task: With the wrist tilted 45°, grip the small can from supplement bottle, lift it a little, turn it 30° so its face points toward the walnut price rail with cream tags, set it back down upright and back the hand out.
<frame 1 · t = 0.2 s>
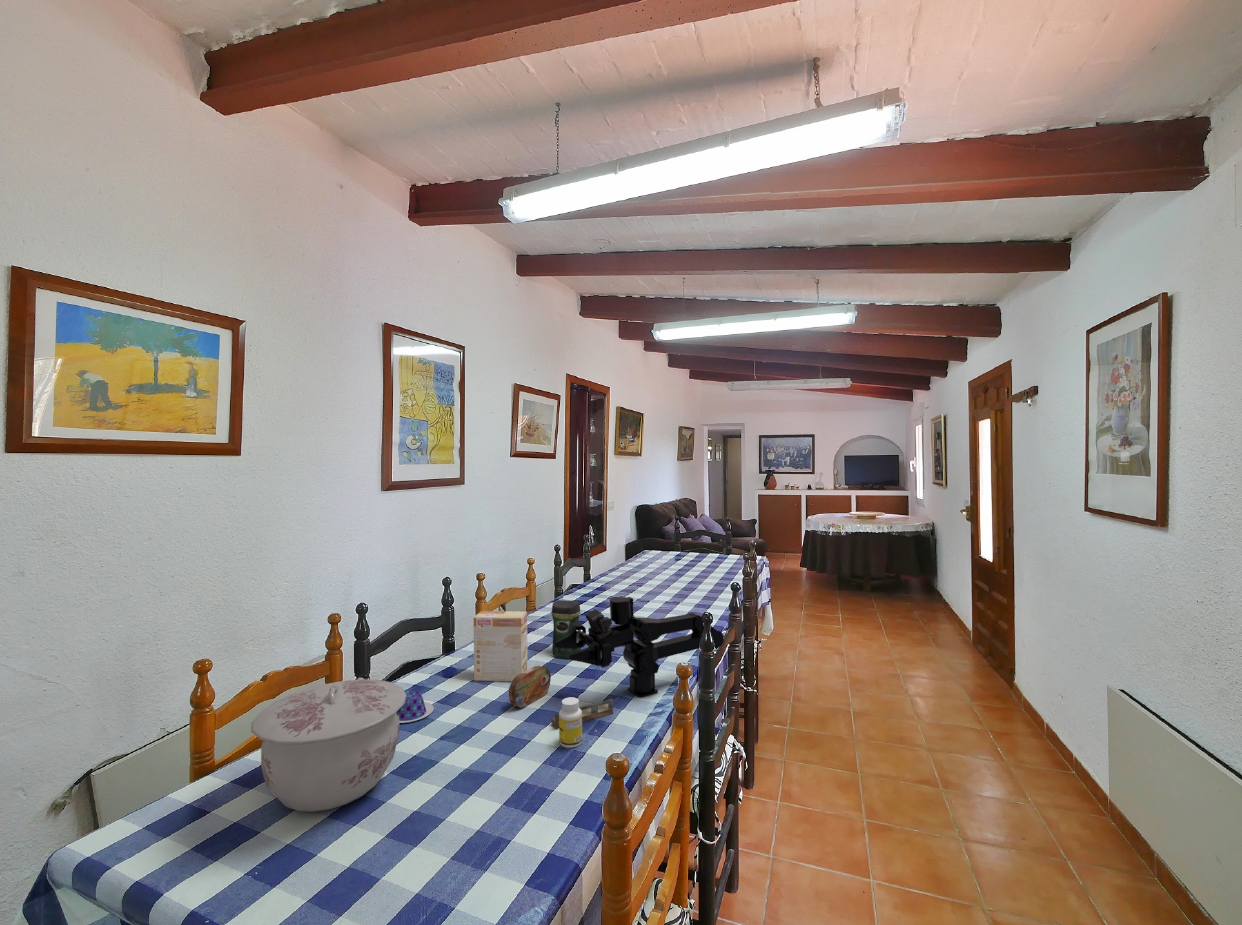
hand: (561, 651, 139), 16 cm above the table, tool horizontal, fingers open, 9 cm apart
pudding: (409, 715, 140), on the table
coffee jar: (566, 655, 182), on the table
coffeecake box: (501, 677, 163), on the table
tin: (530, 701, 147), on the table
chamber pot: (335, 789, 107), on the table
supplement bottle: (570, 743, 124), on the table
price rail: (582, 718, 136), on the table
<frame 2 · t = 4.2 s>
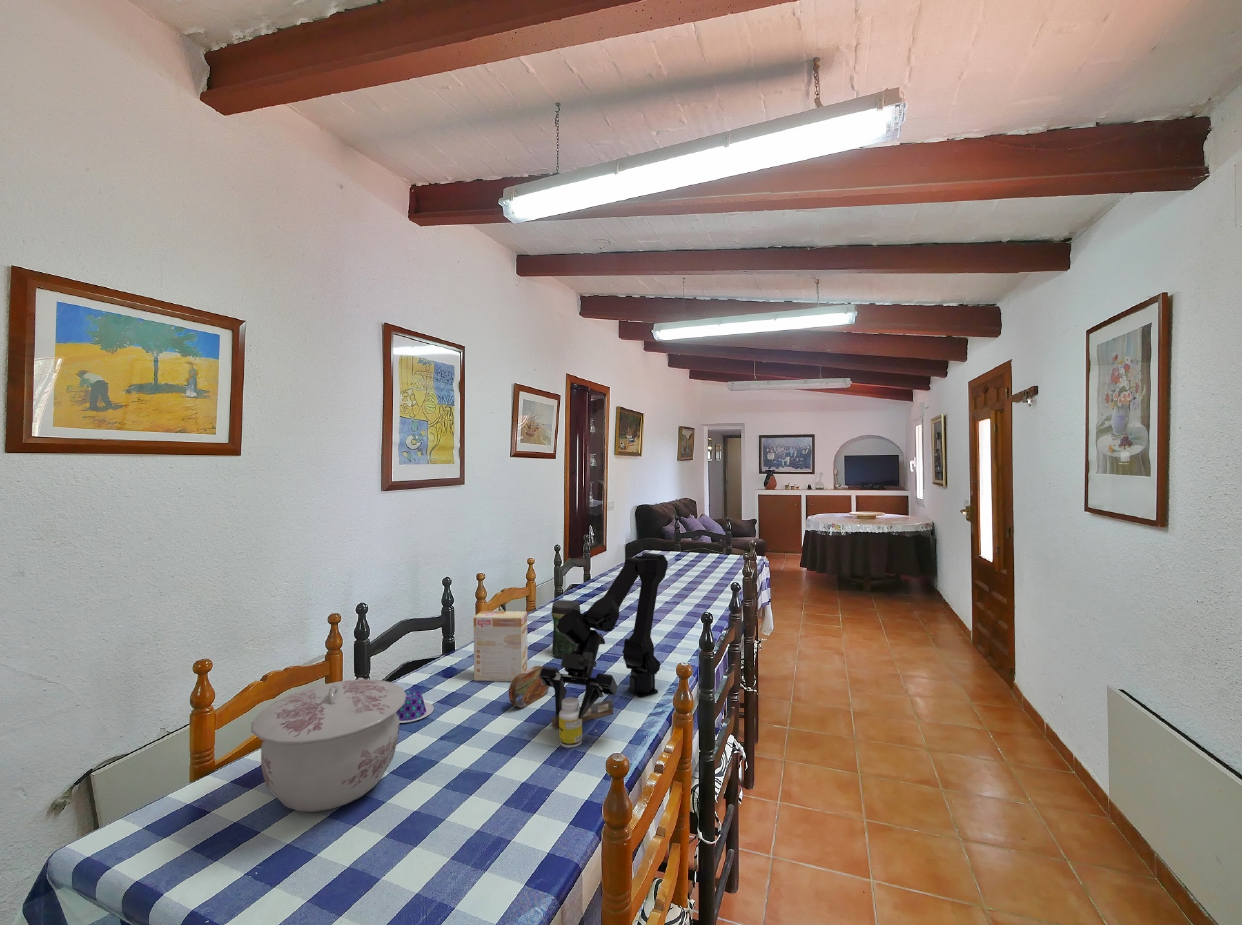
hand: (568, 716, 123), 7 cm above the table, tool tilted 45°, fingers closed on supplement bottle, 5 cm apart
supplement bottle: (570, 743, 124), on the table, touching gripper
everything else where it was.
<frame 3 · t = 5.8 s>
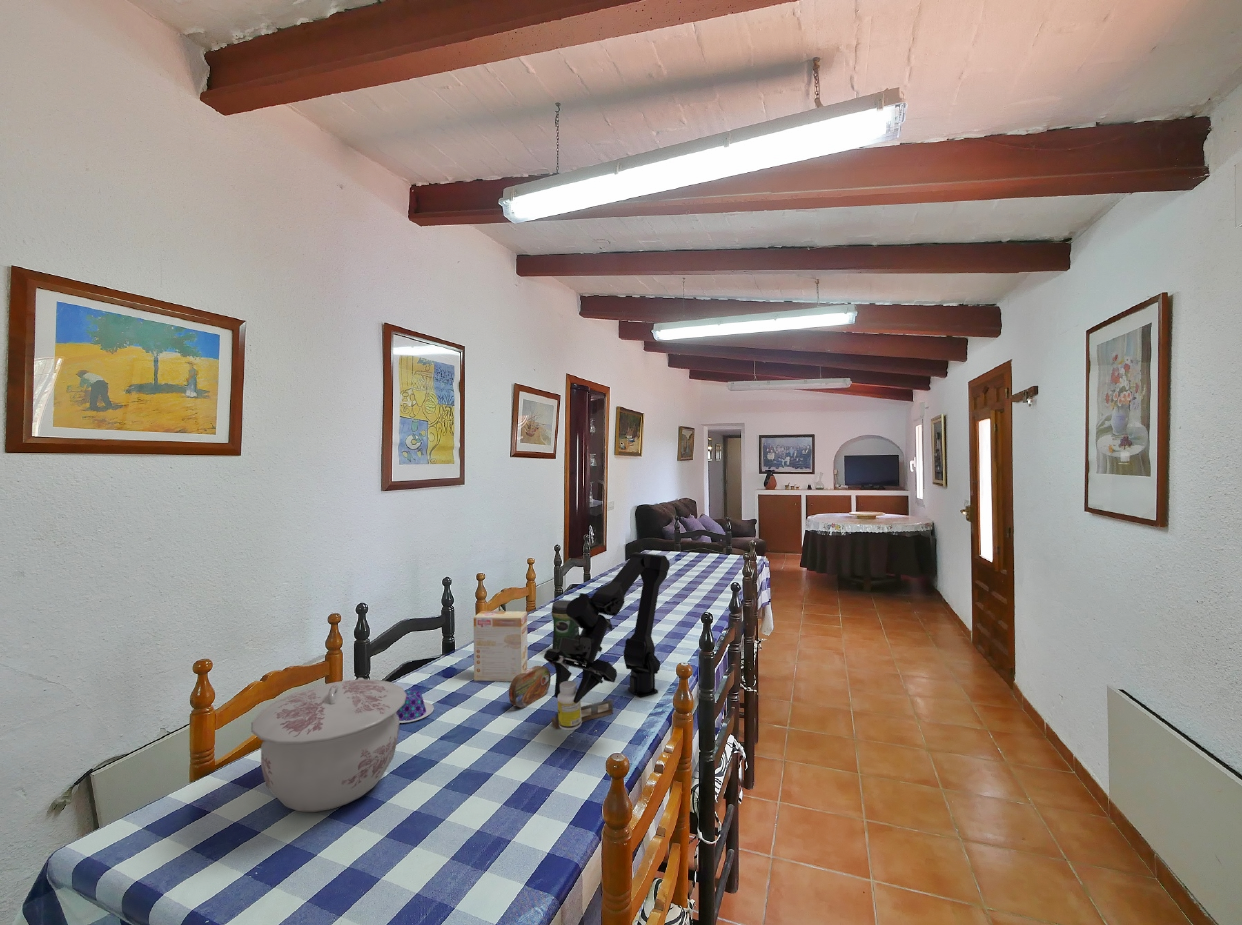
hand: (565, 699, 124), 10 cm above the table, tool tilted 40°, fingers closed on supplement bottle, 5 cm apart
supplement bottle: (570, 725, 125), point 4 cm above the table, touching gripper
everything else where it was.
when the fingers open (7 cm above the table, at t = 7.4 s): supplement bottle stays where it is, on the table.
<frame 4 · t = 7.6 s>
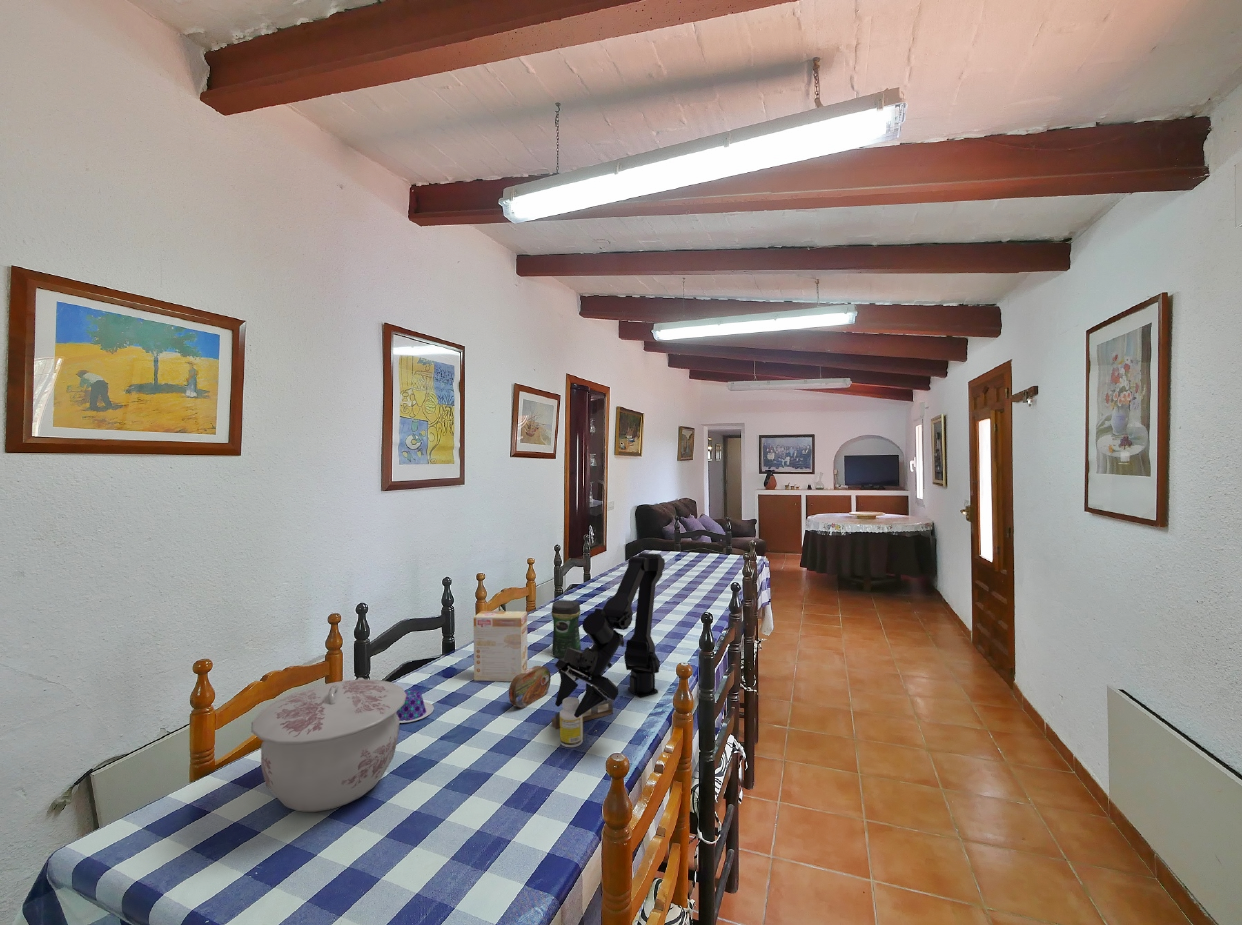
hand: (565, 711, 124), 8 cm above the table, tool tilted 45°, fingers open, 7 cm apart
supplement bottle: (571, 742, 125), on the table
everything else where it was.
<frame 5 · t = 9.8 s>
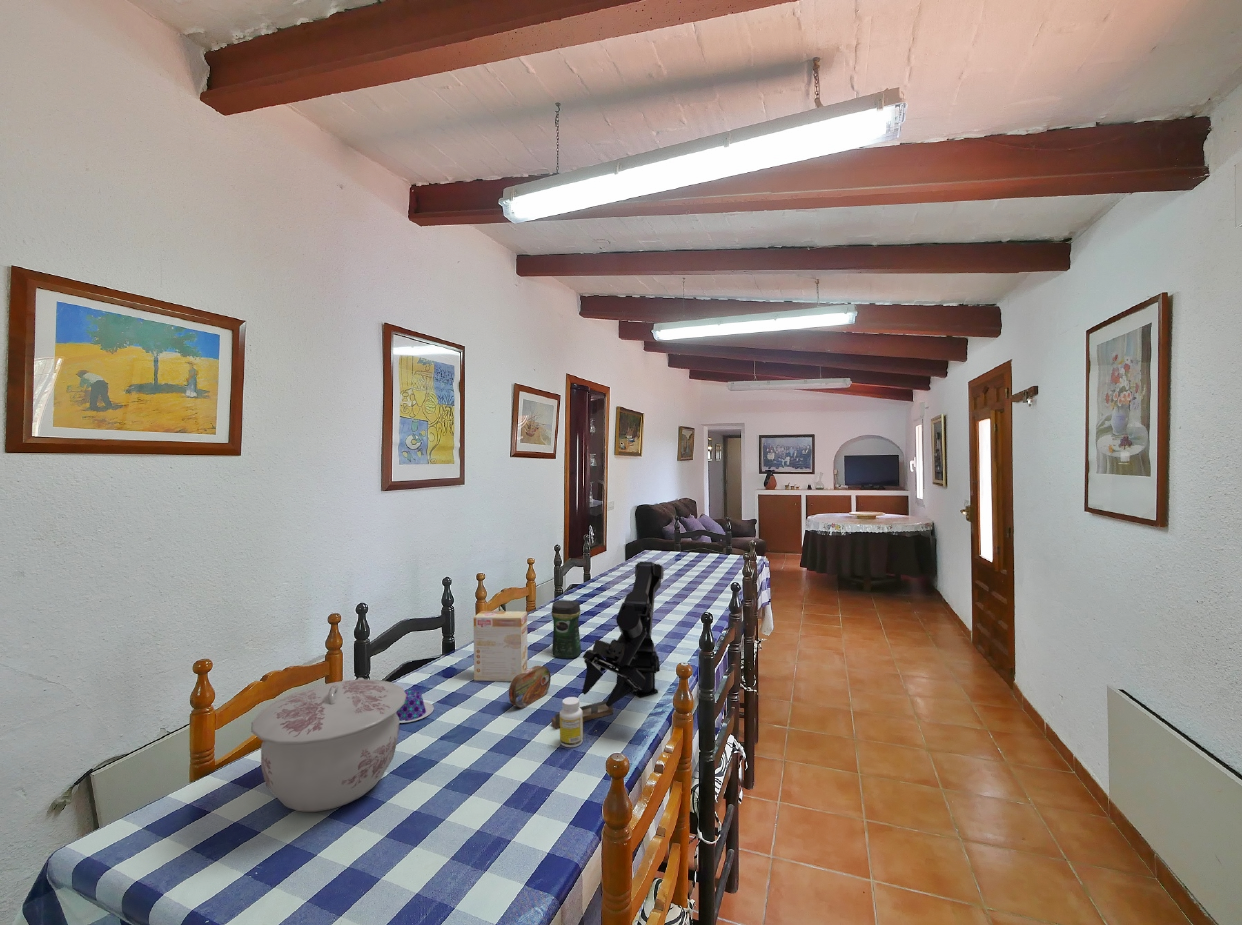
hand: (594, 699, 129), 8 cm above the table, tool tilted 45°, fingers open, 9 cm apart
nothing on the table moved.
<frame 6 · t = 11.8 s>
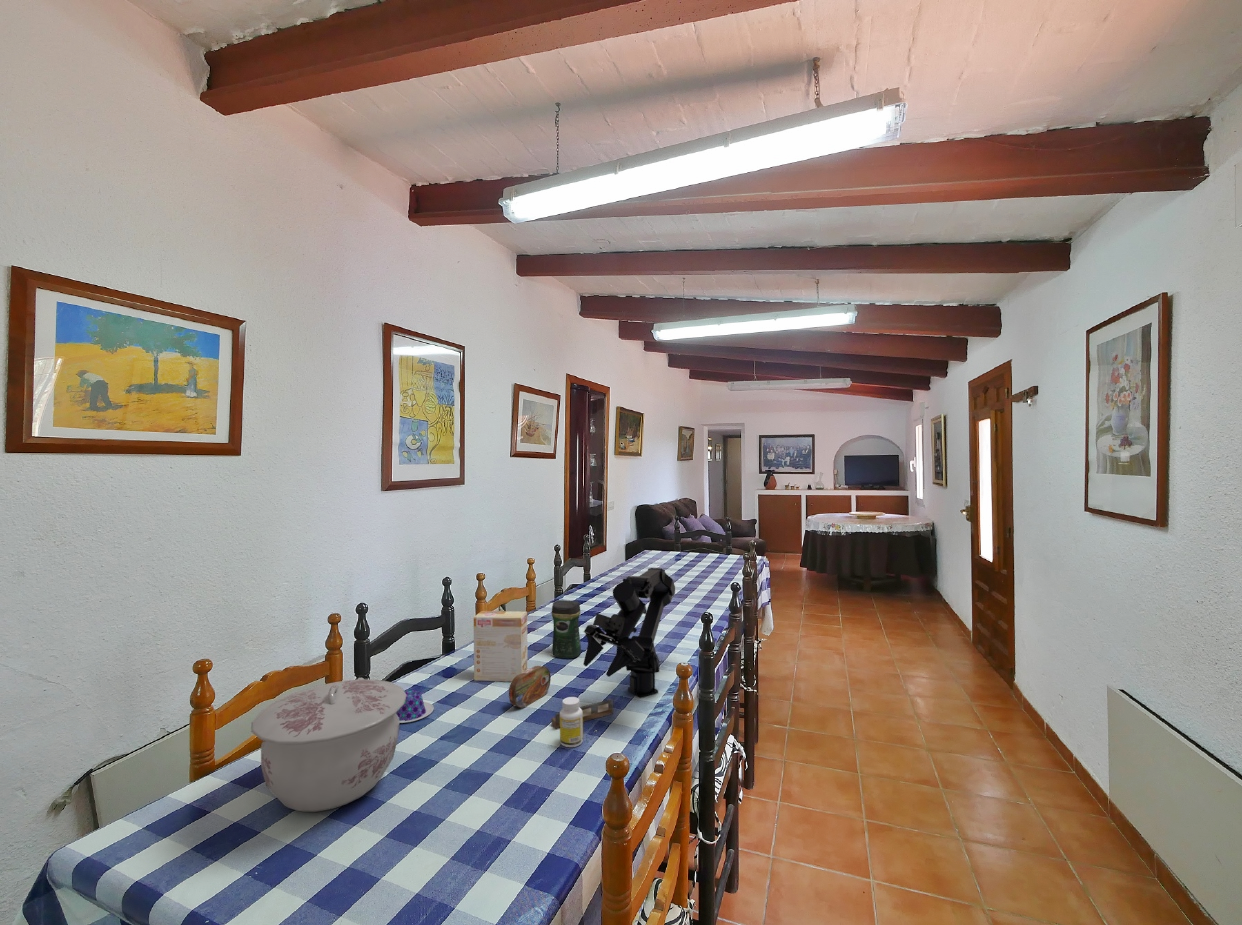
hand: (595, 670, 135), 13 cm above the table, tool tilted 45°, fingers open, 9 cm apart
at the end: supplement bottle 0.2 cm from the target spot, on the table; supplement bottle tilted 0°; the gripper is holding nothing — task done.
